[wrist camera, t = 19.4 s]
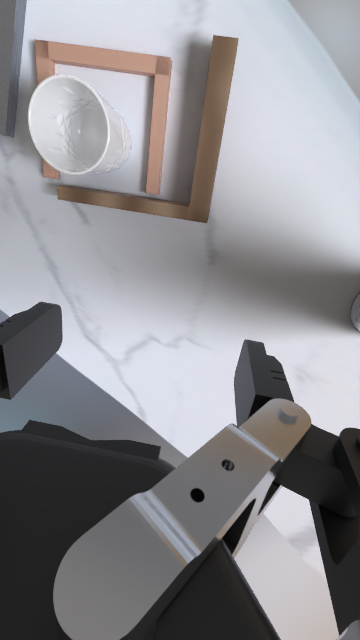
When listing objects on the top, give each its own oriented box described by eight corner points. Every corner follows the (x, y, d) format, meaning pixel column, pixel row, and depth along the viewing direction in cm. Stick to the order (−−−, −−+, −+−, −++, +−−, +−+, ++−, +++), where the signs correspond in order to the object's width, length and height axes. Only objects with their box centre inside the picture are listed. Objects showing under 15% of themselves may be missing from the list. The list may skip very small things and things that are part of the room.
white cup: (106, 189, 38) (72, 192, 30) (62, 136, 36) (11, 121, 27) (149, 145, 36) (126, 133, 27) (104, 84, 34) (63, 49, 25)
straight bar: (13, -40, 30) (0, -54, 28) (31, -32, 30) (19, -45, 28) (0, 131, 37) (-11, 128, 35) (15, 137, 37) (5, 135, 36)
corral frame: (172, 61, 32) (170, 57, 31) (159, 194, 38) (157, 194, 37) (40, 44, 33) (34, 39, 32) (48, 177, 39) (43, 176, 38)
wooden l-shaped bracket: (236, 54, 31) (238, 38, 28) (207, 219, 39) (206, 223, 35) (68, 32, 32) (49, 13, 29) (72, 197, 40) (57, 199, 36)
